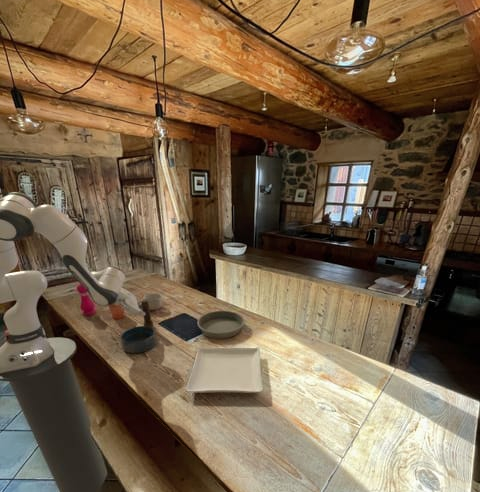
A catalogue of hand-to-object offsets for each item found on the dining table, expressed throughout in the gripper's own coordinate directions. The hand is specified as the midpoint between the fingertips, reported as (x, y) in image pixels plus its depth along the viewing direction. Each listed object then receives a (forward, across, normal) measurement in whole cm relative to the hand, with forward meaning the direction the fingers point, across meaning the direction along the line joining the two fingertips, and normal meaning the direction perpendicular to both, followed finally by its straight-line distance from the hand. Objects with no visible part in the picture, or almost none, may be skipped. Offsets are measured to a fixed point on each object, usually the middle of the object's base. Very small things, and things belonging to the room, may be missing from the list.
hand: (143, 311), depth 135 cm
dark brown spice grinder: (+8, +1, +7) cm, 11 cm away
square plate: (+25, -52, -9) cm, 58 cm away
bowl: (+4, -14, +11) cm, 18 cm away
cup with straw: (-2, +23, +17) cm, 28 cm away
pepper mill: (-13, +35, +28) cm, 46 cm away
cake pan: (+33, -16, -17) cm, 41 cm away
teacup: (+12, +26, +3) cm, 28 cm away
